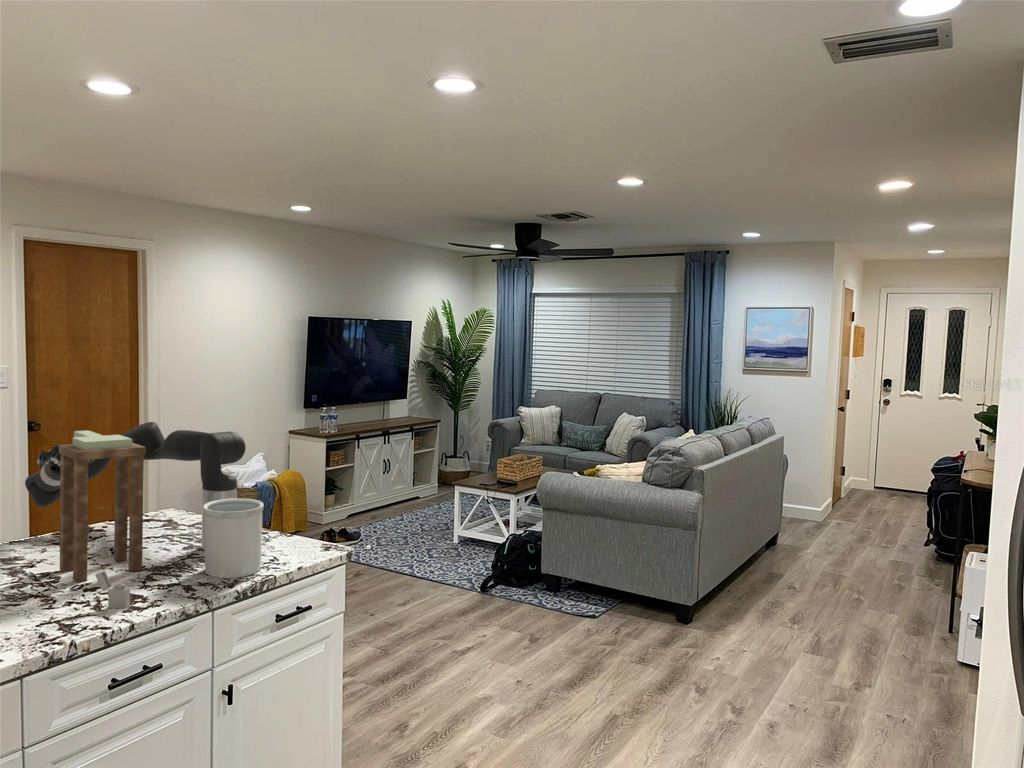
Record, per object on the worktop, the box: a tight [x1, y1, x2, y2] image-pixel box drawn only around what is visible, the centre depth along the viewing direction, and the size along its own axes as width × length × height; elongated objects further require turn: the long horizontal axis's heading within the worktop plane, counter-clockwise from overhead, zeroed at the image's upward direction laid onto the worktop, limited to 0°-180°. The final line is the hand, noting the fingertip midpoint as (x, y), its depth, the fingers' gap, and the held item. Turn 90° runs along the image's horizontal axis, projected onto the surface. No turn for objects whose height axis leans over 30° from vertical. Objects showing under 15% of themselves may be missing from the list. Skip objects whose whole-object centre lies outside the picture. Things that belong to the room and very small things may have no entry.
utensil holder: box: [203, 498, 265, 579], centre depth 199 cm, size 15×15×18 cm
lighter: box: [95, 570, 131, 610], centre depth 171 cm, size 7×2×8 cm, turn 89°
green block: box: [72, 429, 132, 450], centre depth 197 cm, size 11×20×2 cm, turn 47°
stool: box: [58, 443, 146, 583], centre depth 194 cm, size 16×13×32 cm
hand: (76, 446), depth 207 cm, fingers open, 8 cm apart
